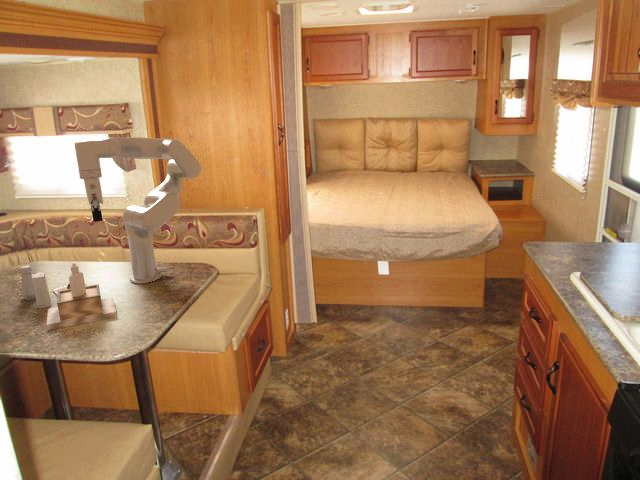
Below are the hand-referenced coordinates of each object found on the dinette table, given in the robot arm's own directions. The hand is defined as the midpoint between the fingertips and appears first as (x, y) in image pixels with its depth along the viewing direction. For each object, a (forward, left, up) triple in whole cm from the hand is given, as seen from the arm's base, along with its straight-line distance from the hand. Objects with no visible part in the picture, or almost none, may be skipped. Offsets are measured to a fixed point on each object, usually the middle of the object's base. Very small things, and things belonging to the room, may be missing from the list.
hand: (97, 218), depth 196 cm
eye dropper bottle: (+10, +19, -22) cm, 31 cm away
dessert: (+13, -7, -31) cm, 35 cm away
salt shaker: (+28, -8, -31) cm, 42 cm away
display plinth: (+10, +19, -30) cm, 37 cm away
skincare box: (+23, +2, -31) cm, 38 cm away
